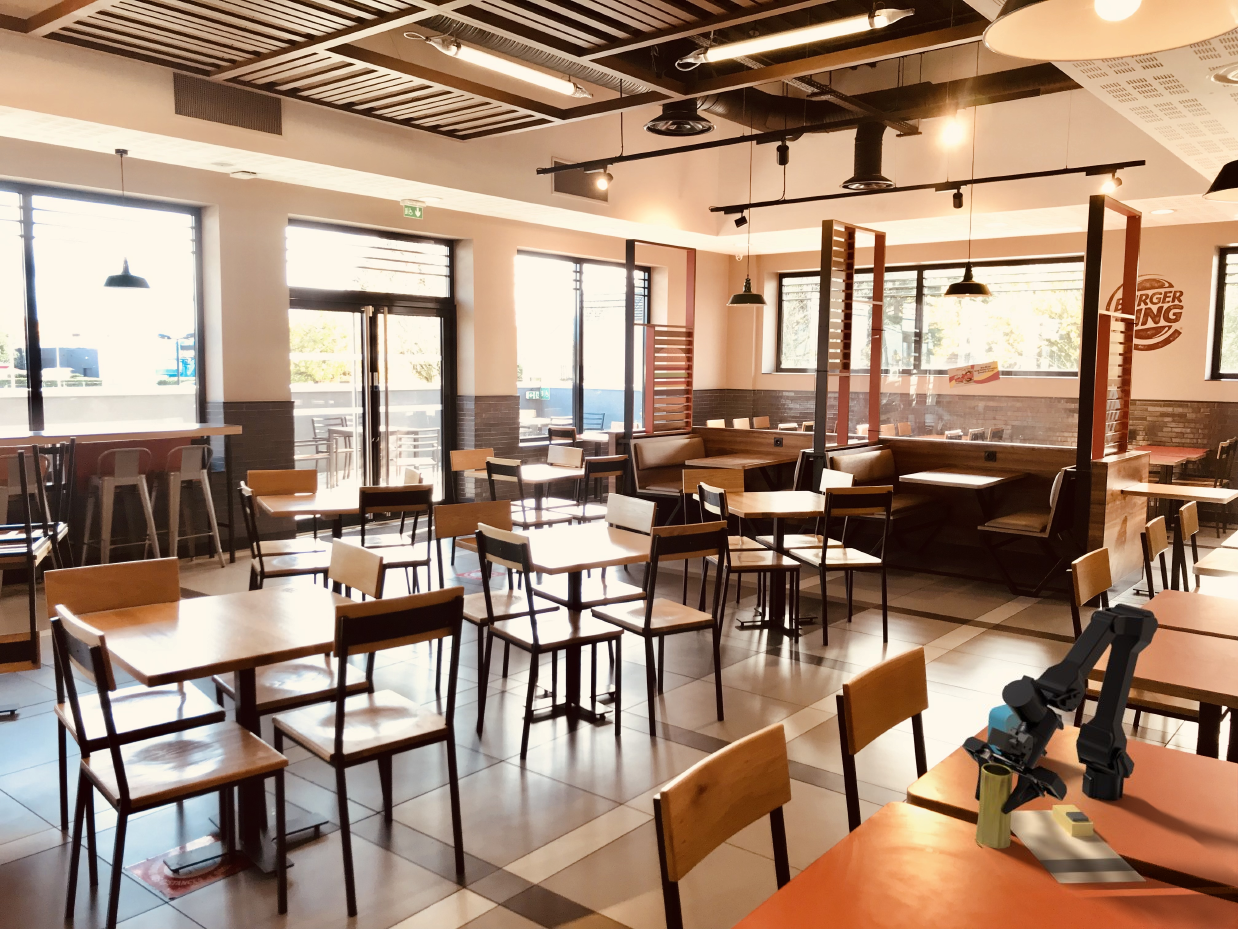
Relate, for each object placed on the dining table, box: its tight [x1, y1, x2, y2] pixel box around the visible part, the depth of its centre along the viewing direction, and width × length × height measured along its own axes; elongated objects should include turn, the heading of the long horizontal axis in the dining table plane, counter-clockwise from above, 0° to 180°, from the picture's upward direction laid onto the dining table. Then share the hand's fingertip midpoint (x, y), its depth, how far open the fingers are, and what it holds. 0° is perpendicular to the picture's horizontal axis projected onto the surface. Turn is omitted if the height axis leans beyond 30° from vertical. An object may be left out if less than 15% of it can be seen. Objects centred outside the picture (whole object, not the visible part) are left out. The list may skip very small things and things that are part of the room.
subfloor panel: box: [1010, 809, 1147, 884], centre depth 168 cm, size 15×24×1 cm, turn 3°
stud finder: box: [1051, 804, 1094, 836], centre depth 174 cm, size 7×4×3 cm, turn 3°
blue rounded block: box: [986, 703, 1020, 765], centre depth 203 cm, size 12×4×12 cm, turn 120°
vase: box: [974, 763, 1014, 849], centre depth 168 cm, size 6×6×14 cm
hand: (989, 806), depth 168 cm, fingers closed on vase, 5 cm apart
